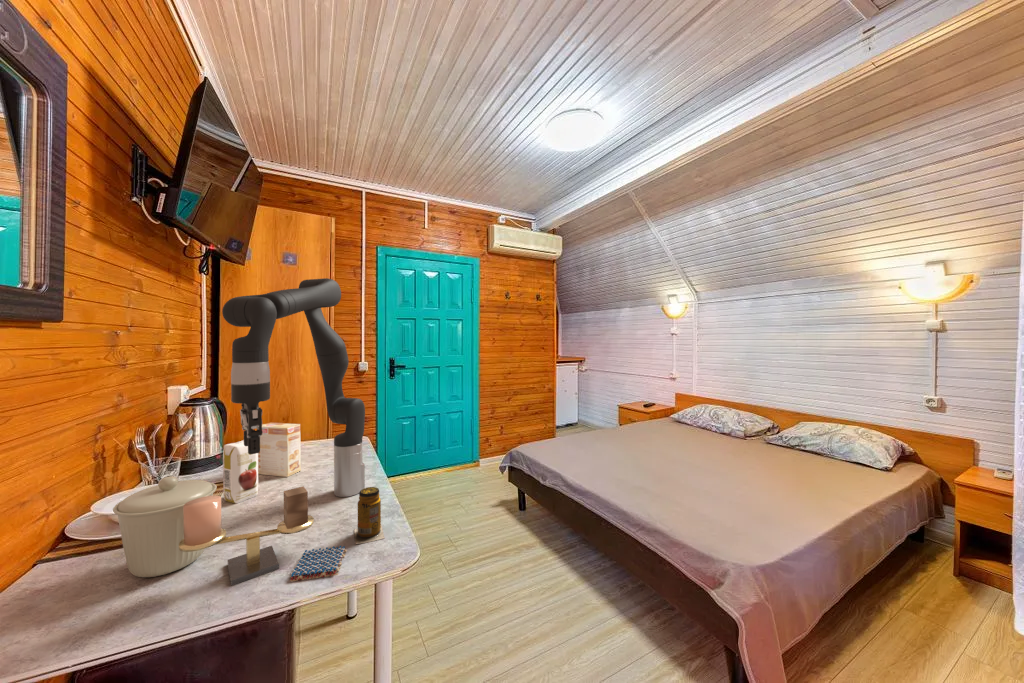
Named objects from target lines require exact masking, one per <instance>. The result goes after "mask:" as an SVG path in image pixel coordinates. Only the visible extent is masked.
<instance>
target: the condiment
mask: <svg viewBox="0 0 1024 683" xmlns="http://www.w3.org/2000/svg"><path fill="white" fill-rule="evenodd" d="M358 496H359V497H358V501H357V528H355V529H353V530H354V531H353V532H354V542H355V545H358V544H359V545H360V544H364V543H365V544H366V543H370V542H375V541H380V540H382V539H385V534H384V530H383V526H382V522H381V521H382V519H381V518H382V515H381V514H382V513H381V512H382V511H381V507H382V504H381V502H382V501H381V498H380V489H379V488H378V487H377V486H369V487H365V488H364V489H362V490H361V491H360V492H359V493H358ZM377 535H378V536H377Z"/></svg>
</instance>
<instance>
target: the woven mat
mask: <svg viewBox="0 0 1024 683" xmlns="http://www.w3.org/2000/svg"><path fill="white" fill-rule="evenodd" d="M321 549H322V550H321ZM347 552H348V550H347V549H346V546H345V545H344V546H342V545H339V546H336V548H335V546H332V547H330V548H329V547H328V546H327V547H325V548H321V547H319V549H315V548H312V550H308V549H305V550H304V552H303V553H301V556H300V557H298V558H299V560H298V561H296V564H295V565H294V567H293V569H292V571H291V573H290V576H289V577H290V580H289V582H297V581H304V580H310V579H311V580H312V579H318V578H326V577H332V576H333V577H334V576H338V575H339V573H338V572H339V571H340V569H341V566H342V565H343V564H342V561H343V558H345V556H346V553H347Z"/></svg>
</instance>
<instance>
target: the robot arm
mask: <svg viewBox="0 0 1024 683" xmlns="http://www.w3.org/2000/svg"><path fill="white" fill-rule="evenodd" d="M341 298H342V290H341V287H340V285H339V283H338V282H337V281H336V280H334V279H332V278H325V277H324V278H311V279H304V280H301V281H300V283H299V285H298V288H296V287H295V288H288V289H281V290H276V291H271V292H270V291H269V292H266V293H262V294H252V295H243V296H235V297H232V298H230V299H228V300H227V301H225V303H224V305H223V307H222V311H221V312H222V313H221V314H222V316H223V320H225V321H226V322H227V323H228V324H229V325H232V326H233V327H238V328H245V327H246V328H250V329H249V331H248V333H247V335H245V336H240V337H236V338H235V339H234V340H233V341H232V345H231V347H232V349H231V350H232V351H231V352H232V353H231V356H232V357H231V359H232V360H231V361H232V365H231V370H230V401H231V403H233V404H241V409H239V412H240V413H239V414H240V424H241V429H242V431H243V440H244V446H248V453H249V454H256V453H259V452H260V436H261V435H262V433H263V432H262V425H263V417H262V416H263V408H261V407H260V405H259V404H260V402H266V401H269V400H270V399H271V375H270V374H271V370H270V365H269V364H270V363H269V355H270V354H269V345H270V341H271V339H272V335H273V331H274V328H275V324H276V322H277V320H279V319H283V318H286V317H288V316H293V315H294V314H297V313H301V312H304V315H305V318H306V320H307V324H308V326H309V330H310V333H311V336H312V337H311V338H312V340H313V341H312V342H313V346H314V350H315V355H316V358H317V362H318V366H319V370H320V375H321V378H322V383H323V386H324V394H325V401H326V409H327V410H326V411H327V414H328V417H329V419H330V421H331V422H332V423H334V424H337V425H345V431H344V432H341V433H339V434H337V435H335V436H334V438H333V487H334V488H333V490H334V491H333V492H334V493H333V494H334V496H336V497H340V498H344V497H345V498H346V497H351V496H356V495H359V492H360V491H361V490H362V489H364V488H366V484H365V481H366V478H365V477H366V476H365V474H366V472H365V471H366V470H365V467H366V466H365V465H366V464H365V463H364V462H363V460H364V459H363V437H364V433H365V420H366V407H365V406H366V405H365V403H364V401H363V400H362V399H361V398H356V397H345V395H344V391H343V380H344V378H345V375H346V373H347V371H348V367H349V361H350V360H349V356H348V351H347V345H346V344H345V342H344V340H343V338H341V336H340V335H339V333H337V332H336V331H335V330H334V329H333V327H331V325H330V324H329V323H328V321H327V320H326V318H325V316H324V313H323V310H322V308H323V309H324V308H331V307H336V306H338V304H339V303H340V301H341ZM255 429H256V430H255Z"/></svg>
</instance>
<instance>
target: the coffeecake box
mask: <svg viewBox="0 0 1024 683" xmlns="http://www.w3.org/2000/svg"><path fill="white" fill-rule="evenodd" d="M262 432H263V433H262V435H261V436H260V452H259V453H258V475H263V476H273V477H284V478H289V477H291V476H293V475H295V473H296V474H298V473H299V471H300V472H302V466H301V465H302V463H301V462H302V460H301V457H302V456H301V455H302V454H301V450H302V449H301V447H302V446H301V444H302V443H301V423H283V422H267V423H262ZM297 472H298V473H297Z"/></svg>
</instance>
